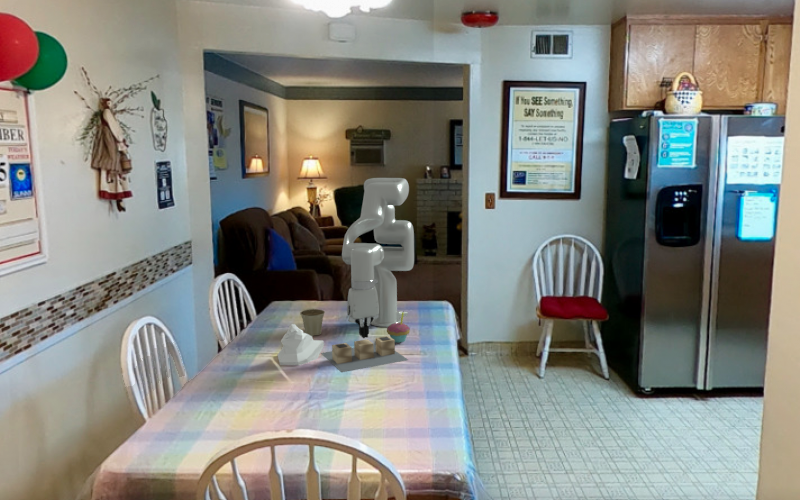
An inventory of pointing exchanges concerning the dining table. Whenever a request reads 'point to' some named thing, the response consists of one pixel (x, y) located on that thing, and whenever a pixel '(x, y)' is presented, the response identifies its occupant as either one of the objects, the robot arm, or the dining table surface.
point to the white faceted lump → (298, 347)
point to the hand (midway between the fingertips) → (364, 336)
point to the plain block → (363, 349)
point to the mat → (365, 361)
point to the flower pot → (312, 321)
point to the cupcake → (398, 331)
